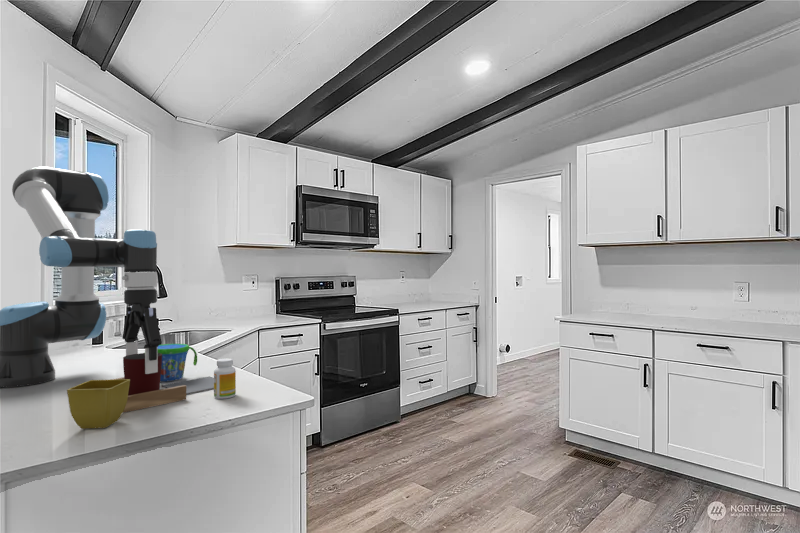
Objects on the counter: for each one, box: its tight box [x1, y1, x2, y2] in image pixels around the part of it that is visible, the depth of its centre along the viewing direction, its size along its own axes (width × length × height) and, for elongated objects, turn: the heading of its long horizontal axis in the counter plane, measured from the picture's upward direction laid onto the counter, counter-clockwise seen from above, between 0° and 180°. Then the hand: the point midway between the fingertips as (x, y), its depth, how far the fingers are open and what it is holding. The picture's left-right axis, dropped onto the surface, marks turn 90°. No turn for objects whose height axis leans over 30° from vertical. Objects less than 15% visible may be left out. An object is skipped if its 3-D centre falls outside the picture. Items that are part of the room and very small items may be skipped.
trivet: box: [161, 375, 214, 396], centre depth 133 cm, size 14×14×1 cm
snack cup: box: [158, 343, 198, 383], centre depth 141 cm, size 16×10×10 cm
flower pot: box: [66, 379, 130, 430], centre depth 100 cm, size 9×9×9 cm
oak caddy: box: [109, 377, 187, 414], centre depth 120 cm, size 22×18×4 cm
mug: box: [122, 352, 162, 396], centre depth 122 cm, size 12×9×11 cm
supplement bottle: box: [213, 357, 237, 400], centre depth 122 cm, size 5×5×10 cm
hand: (141, 369), depth 121 cm, fingers open, 13 cm apart
